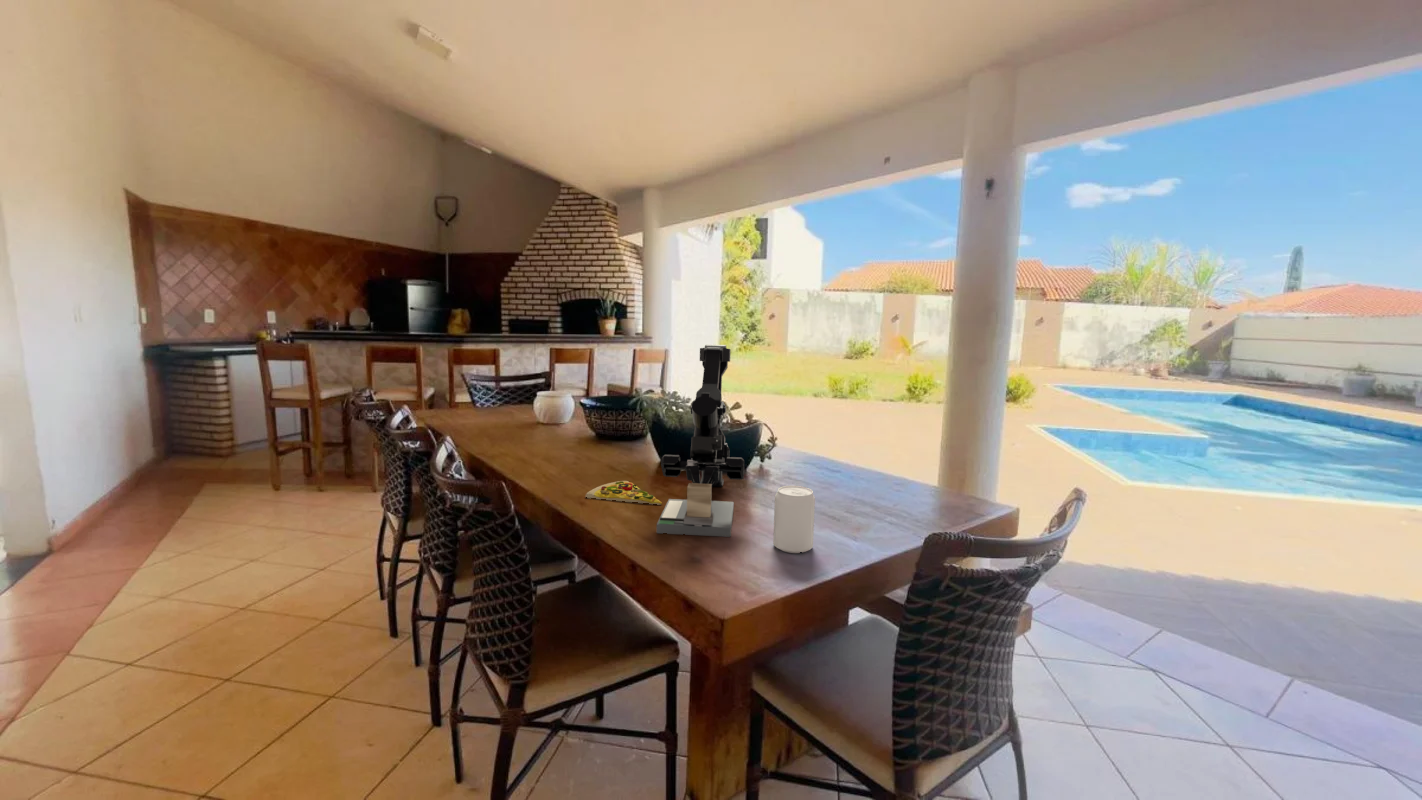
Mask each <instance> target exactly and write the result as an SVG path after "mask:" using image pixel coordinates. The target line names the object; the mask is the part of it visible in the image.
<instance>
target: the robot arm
mask: <svg viewBox="0 0 1422 800" xmlns="http://www.w3.org/2000/svg"><path fill="white" fill-rule="evenodd" d="M699 362H702V365H701V366H702V367H703V373H702V374H703V376H702V385H701V387H700V388H699V389H698V390H697V391H696V392H695V393H696V394H695V399H694V400H693V401H692V403H691V406H690V415H692V423H693V425H694V432H693V435H692V436H691V441H690V442H691V444H690V445H691V446H690V451H689V452H690V454H689V458H690V459H687V460H686V461H684V460H682V461H681V457H680V455H679V454H664V455H662V457H661V461H660V466H661V471H662V476H664V477H666V478H667V477H668V478H670V477H671V478H678V477H679V476H680V475H681V474H682V473H681V472H682V471H685V473H686V474H685V475H686V479H687V481H691V483H699V484H712V487H717V488H718V487H722V488H723V485H724V481H725V479H724V478H723V472H726V477H727V478H728V479H729V480H739V481H740V480H743V479H744V476H745V460H744V458H743V457H736V456H731V457H730V447H729V446H728V445H729V444H728V443H727V442H726V436H725V434H724V432H723V431H722V429H721V417H722V416H725V413H726V412H727V405H725V404H726V403H725V401H723V400H722V386H723V385H722V383H723V382H722V381H723V376H724V374H725V373H726V371H727V370H728V364H729V362H731V348H727V344H704V347H701V348H700V347H699ZM700 471H701V475H700Z"/></svg>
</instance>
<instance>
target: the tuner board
mask: <svg viewBox="0 0 1422 800" xmlns="http://www.w3.org/2000/svg"><path fill="white" fill-rule="evenodd" d="M734 507H735V503H734V501H726V500H725V501H721V500H711V511H714V518H713V523H712V525H693V524H684V521H665V520H660V518H681V519H684V516H685V514H686V511H687V499H678V498H677V499H676V498H675V499H674V498H668V501H667V502H666V504H665V506H664V509H663V510H662V512H661V515H660V516H659V519H658V521H657V522H656V534H663V533H667V534H666V535H683V534H685V535H687V536H688V535H689V536H707V537H708V536H709V537H727V538H730V537H731V536H732V528H733V527H732V526H733V518H734V517H733V516H734V510H735V509H734Z"/></svg>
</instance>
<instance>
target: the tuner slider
mask: <svg viewBox="0 0 1422 800" xmlns="http://www.w3.org/2000/svg"><path fill="white" fill-rule="evenodd" d="M686 488H687V489H686V495H687V496H686V500H687V511H686V514H685V516H684V519H681V518H660V517H659V518H660V520H665V521H684V524H693V525H712V523H713V518H714V511H711V501H712V497H713V496H712V488H713V486H712V484H699V483H692V482H689V483H688V485H687V487H686Z"/></svg>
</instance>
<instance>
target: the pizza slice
mask: <svg viewBox="0 0 1422 800" xmlns="http://www.w3.org/2000/svg"><path fill="white" fill-rule="evenodd" d="M586 497H587V499H591V498H596V499H595V500H601V499H606V500H605V501H612V500H616V501H615V502H622V501H625V503H632V502H638V503H637V504H643V503H649V504H648V505H653V504H657V505H656V506H662V503H663V502H662V501H660V500H659V499H658V498H656V497H655V496H654V495H653V494H649V493H648V491H645V490H643V489H642V488H640V487H638V486H637V484H634V483H633V482H629V480H617V481H614V482H608V483H605V484H601V485H598V486H597V487H595V488H593V489H591V490H589V491H587V492H586V493H585V498H586Z"/></svg>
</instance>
